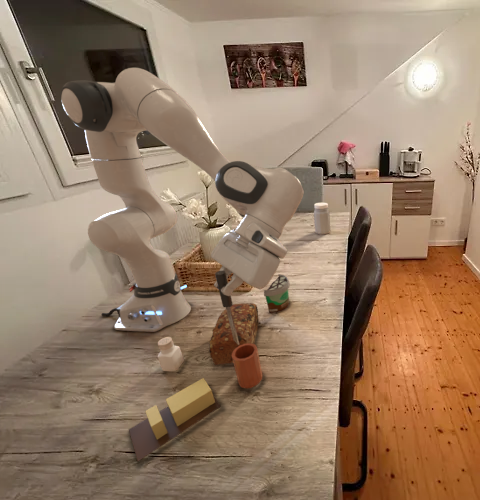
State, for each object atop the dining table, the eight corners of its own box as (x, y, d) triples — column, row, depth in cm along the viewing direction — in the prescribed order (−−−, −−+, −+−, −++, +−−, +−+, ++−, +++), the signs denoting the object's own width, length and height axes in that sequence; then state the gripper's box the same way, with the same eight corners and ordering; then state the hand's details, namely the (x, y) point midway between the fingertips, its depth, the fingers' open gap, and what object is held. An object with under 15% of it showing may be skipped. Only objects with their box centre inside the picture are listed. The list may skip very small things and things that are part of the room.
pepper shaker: (172, 362, 78) (162, 335, 74) (186, 362, 78) (176, 335, 74) (162, 374, 74) (152, 346, 71) (177, 374, 74) (167, 346, 71)
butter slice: (161, 417, 62) (156, 404, 60) (167, 432, 59) (162, 419, 57) (150, 423, 61) (145, 410, 59) (157, 439, 57) (151, 426, 56)
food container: (284, 317, 96) (280, 292, 92) (267, 315, 97) (263, 290, 93) (297, 297, 107) (294, 274, 103) (282, 296, 108) (279, 273, 104)
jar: (317, 229, 180) (315, 201, 172) (332, 229, 178) (330, 202, 171) (313, 234, 171) (310, 205, 164) (328, 235, 169) (327, 206, 162)
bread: (252, 364, 77) (246, 335, 73) (211, 369, 76) (202, 340, 72) (261, 322, 94) (256, 296, 90) (228, 325, 92) (222, 300, 89)
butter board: (207, 387, 70) (206, 383, 70) (222, 410, 64) (221, 406, 64) (130, 433, 60) (128, 429, 59) (139, 465, 54) (137, 461, 54)
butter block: (207, 389, 68) (203, 377, 67) (215, 402, 65) (211, 390, 63) (170, 411, 63) (165, 399, 61) (177, 426, 60) (172, 413, 58)
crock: (236, 392, 69) (228, 361, 65) (242, 373, 74) (235, 344, 70) (260, 390, 69) (254, 359, 65) (264, 371, 74) (259, 342, 70)
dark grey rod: (238, 337, 67) (222, 269, 60) (242, 342, 65) (227, 272, 58) (230, 342, 66) (213, 272, 58) (234, 347, 64) (217, 276, 57)
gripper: (224, 219, 66) (190, 270, 64) (270, 240, 53) (229, 305, 51) (245, 232, 71) (214, 280, 68) (292, 254, 58) (256, 314, 55)
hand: (221, 291), depth 59 cm, fingers closed on dark grey rod, 2 cm apart
